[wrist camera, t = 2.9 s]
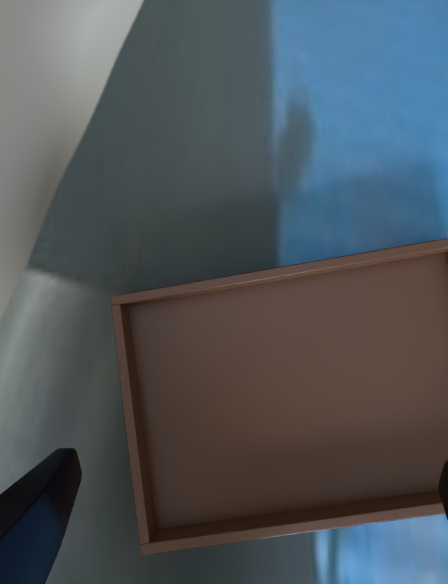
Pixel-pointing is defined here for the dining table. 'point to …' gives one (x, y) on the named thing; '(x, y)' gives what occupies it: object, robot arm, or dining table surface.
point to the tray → (287, 397)
